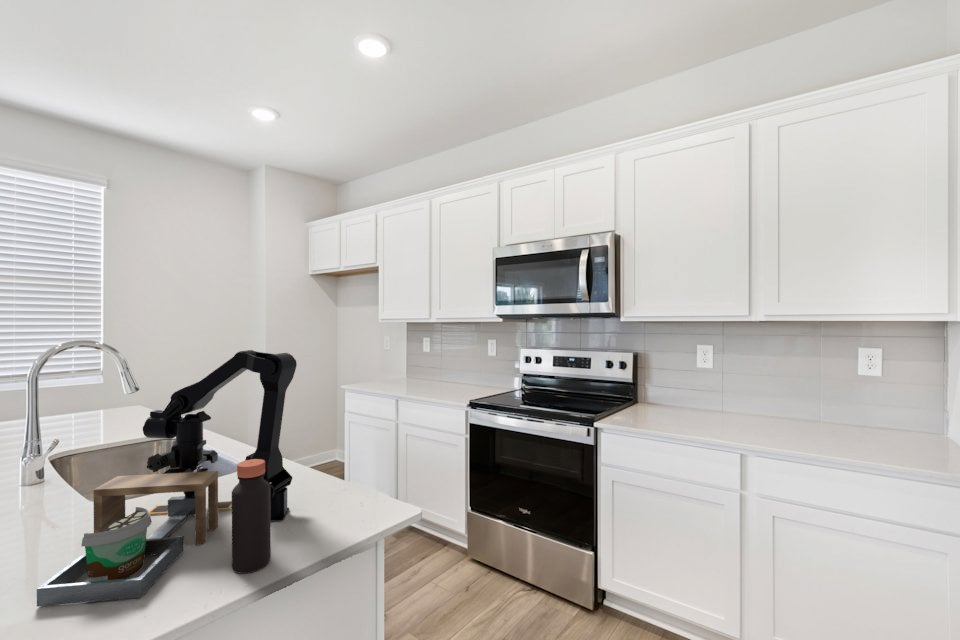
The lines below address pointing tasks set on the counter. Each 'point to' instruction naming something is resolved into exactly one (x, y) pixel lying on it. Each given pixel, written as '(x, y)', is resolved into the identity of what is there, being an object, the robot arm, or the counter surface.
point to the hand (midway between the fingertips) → (190, 501)
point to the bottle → (251, 518)
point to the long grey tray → (156, 544)
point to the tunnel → (113, 492)
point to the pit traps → (164, 508)
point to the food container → (117, 547)
